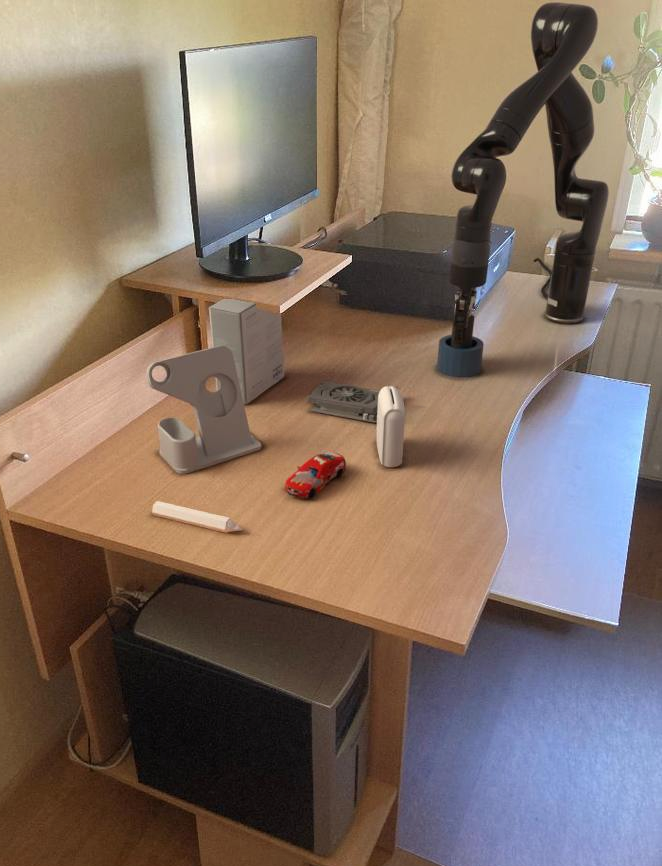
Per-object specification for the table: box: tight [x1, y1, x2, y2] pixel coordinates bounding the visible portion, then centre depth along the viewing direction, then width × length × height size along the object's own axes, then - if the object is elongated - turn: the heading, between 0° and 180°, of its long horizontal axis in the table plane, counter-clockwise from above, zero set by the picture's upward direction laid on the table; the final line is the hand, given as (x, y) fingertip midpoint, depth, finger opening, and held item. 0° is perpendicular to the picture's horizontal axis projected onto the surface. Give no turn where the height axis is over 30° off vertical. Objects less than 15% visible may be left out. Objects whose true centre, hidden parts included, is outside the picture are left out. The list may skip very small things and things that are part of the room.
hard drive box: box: [208, 290, 285, 406], centre depth 161 cm, size 16×8×20 cm, turn 150°
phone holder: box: [145, 346, 262, 475], centre depth 139 cm, size 17×10×18 cm, turn 122°
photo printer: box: [375, 385, 406, 468], centre depth 139 cm, size 10×4×12 cm, turn 0°
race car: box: [284, 451, 347, 499], centre depth 133 cm, size 13×5×4 cm, turn 140°
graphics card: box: [306, 380, 399, 424], centre depth 158 cm, size 17×4×12 cm
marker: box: [151, 500, 244, 534], centre depth 124 cm, size 3×2×16 cm
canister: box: [451, 313, 475, 349], centre depth 169 cm, size 4×4×12 cm
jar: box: [436, 334, 485, 379], centre depth 171 cm, size 9×10×6 cm
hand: (461, 336), depth 168 cm, fingers open, 7 cm apart
